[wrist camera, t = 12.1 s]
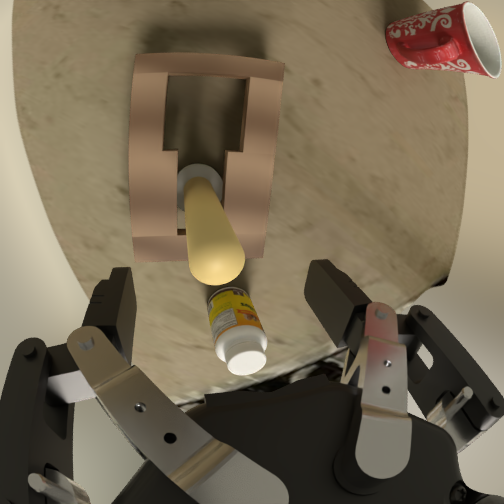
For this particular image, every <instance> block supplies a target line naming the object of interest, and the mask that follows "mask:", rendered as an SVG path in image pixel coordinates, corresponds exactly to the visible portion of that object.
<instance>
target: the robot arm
mask: <svg viewBox="0 0 504 504" xmlns="http://www.w3.org/2000/svg"><path fill="white" fill-rule="evenodd" d="M304 295H305V299H306V301H307V303H308V304H309V306H310V307H311V309H312V310H313V312H314V313H315V315H316V316H317V318H318V319H319V321H320V322H321V324H322V325H323V327H324V328H325V330H326V331H327V333H328V335H329V336H330V338H331V339H332V341H333V342H334V344H335V345H336V347H337V348H340V347H344V346H348V347H349V349H348V351H347V354H346V359H345V364H344V369H343V374H342V378H341V383H338V382H329V381H328V379H327V377H326V375H325V374H323V375H318V376H314V377H310V378H306V379H301V380H298V381H295V382H293V383H291V384H289V385H287V386H285V387H283V388H280V389H278V390H276V391H274V392H269V393H266V392H247V391H231V392H223V393H213V394H204V396H205V403H204V404H201V405H198V406H196V407H194V408H192V409H190V410H188V411H187V412H185V413H184V412H183V411H182V410H181V409H180V408H179V407H177V406H176V405H175V404H174V403H173V402H172V401H171V400H170V399H169V398H168V397H167V396H166V395H165V394H164V393H163V392H162V391H161V390H160V389H159V388H158V387H157V386H156V385H155V384H154V383H153V382H152V381H151V380H150V379H149V378H148V377H147V376H146V375H145V374H144V373H143V372H142V371H141V370H140V369H139V368H138V367H137V366H136V365H133V366H131V359H132V347H133V337H134V328H135V319H136V310H137V305H136V296H135V290H134V284H133V278H132V271H131V268H130V267H116V268H113V269H112V272H111V275H110V278H109V280H101V281H100V282H99V283H98V284H97V285H96V286H95V288H94V291H93V294H92V297H91V299H90V304H89V305H88V308H87V311H86V314H85V317H84V320H83V323H82V327H80V328H78V329H76V330H74V331H73V332H72V333H71V334H70V335H69V337H68V339H67V343H64V344H61V345H57V346H52V347H48V348H47V347H46V345H45V343H44V341H42V340H41V339H39V338H28V339H26V340H24V341H22V342H21V343H20V344H19V345H18V346H17V348H16V349H15V352H14V355H13V358H12V361H11V364H10V367H9V370H8V373H7V377H6V380H5V384H4V388H3V391H2V395H1V400H0V504H91V503H90V499H89V496H88V494H87V492H86V491H85V490H84V489H83V487H82V486H80V485H79V484H77V483H76V482H74V480H73V421H74V406H75V402H78V401H82V400H86V399H90V398H95V399H96V400H97V402H98V403H99V404H100V406H101V407H102V409H103V410H104V411H105V413H106V414H107V415H108V417H109V418H110V419H111V421H112V422H113V423H114V425H115V426H116V427H117V428H118V430H119V431H120V432H121V434H122V435H123V436H124V437H125V439H126V440H127V441H128V442H129V443H130V445H131V446H132V447H133V448H134V449H135V451H136V452H137V453H138V454H139V455H140V456H141V457H142V458H143V459H144V460H145V462H144V463H143V464H142V466H141V467H140V468H139V469H138V471H137V472H136V473H135V475H134V476H133V477H132V479H131V480H130V481H129V482H128V484H127V485H126V486H125V487H124V489H123V490H122V491H121V492H120V494H119V495H118V496H117V497H116V499H115V500H114V501H113V502H112V503H111V504H504V498H503V497H501V496H497V495H489V494H484V493H480V492H477V491H474V490H472V489H470V488H469V487H468V486H466V484H465V483H464V481H463V479H462V476H461V473H460V469H459V464H458V456H457V454H458V453H459V452H461V451H462V450H464V449H465V448H466V447H468V446H469V445H470V444H471V443H473V442H474V441H475V440H476V439H478V437H480V436H481V435H482V434H484V433H485V432H486V431H487V430H488V429H489V428H490V427H492V426H493V425H494V424H495V423H496V422H497V421H498V420H499V419H500V418H501V417H502V416H503V415H504V398H503V396H502V395H501V394H500V392H499V391H498V390H497V388H496V387H495V386H494V384H493V383H492V382H491V380H490V379H489V378H488V376H487V375H486V374H485V372H484V371H483V370H482V369H481V367H480V366H479V365H478V364H477V363H476V361H475V360H474V359H473V358H472V356H471V355H470V354H469V353H468V352H467V350H466V349H465V348H464V347H463V346H462V345H461V343H460V342H459V341H458V340H457V339H456V338H455V337H454V335H453V334H452V333H451V332H450V331H449V330H448V329H447V328H446V327H445V325H444V324H443V323H442V322H441V321H440V320H439V319H438V318H437V317H436V316H435V315H434V314H433V312H432V311H430V310H429V309H428V308H426V307H423V306H420V305H414V306H412V307H411V308H410V310H409V312H408V314H407V315H402V314H396V312H395V311H394V310H393V309H392V308H391V307H390V306H388V305H386V304H384V303H380V302H372V301H371V300H370V299H369V298H368V297H367V296H366V294H365V293H364V292H363V291H362V290H361V289H360V288H359V287H357V285H356V284H355V283H354V282H352V279H351V278H350V277H349V276H348V275H347V274H345V273H344V272H342V271H340V270H339V269H337V268H336V267H335V266H334V265H333V264H332V263H331V262H330V261H329V260H328V259H323V260H312V261H311V263H310V266H309V270H308V275H307V279H306V283H305V288H304ZM422 344H424V346H425V347H426V348H427V349H428V351H429V352H430V353H431V355H432V356H433V361H434V362H433V365H432V367H431V368H430V370H429V369H428V367H427V366H426V365H425V364H424V362H423V361H422V359H421V358H420V357H419V355H418V354H417V352H418V350H419V349H420V347H421V346H422ZM407 389H408V391H409V392H410V394H411V395H412V397H413V399H414V400H415V402H416V403H417V405H418V406H419V408H420V410H421V411H422V413H423V415H424V416H425V418H426V420H427V421H426V420H424V419H421V418H419V417H417V416H415V415H412V414H410V413H408V412H407Z"/></svg>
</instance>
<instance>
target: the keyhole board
mask: <svg viewBox="0 0 504 504" xmlns="http://www.w3.org/2000/svg"><path fill="white" fill-rule="evenodd" d="M284 67H285V63H281V62H276V61H270V60H264V59H257V58H250V57H242V56H233V55H223V54H208V53H147V54H136V57H135V64H134V72H133V81H132V92H131V104H130V121H129V196H130V214H131V227H132V238H133V248H134V257H135V262H161V261H189V259H188V248H187V236H186V229H177V168H178V149H164V127H165V111H166V98H167V87H168V78H169V76H176V75H179V76H212V77H226V78H238V79H246V85H245V96H244V106H243V116H242V127H241V138H240V149H239V151H236V150H225V157H224V171H223V186H222V202H221V205H222V208H223V210H224V212H225V214H226V216H227V218H228V220H229V222H230V224H231V226H232V228H233V230H234V232H235V234H236V236H237V238H238V240H239V242H240V244H241V246H242V248H243V251H244V254H245V259H246V258H263V253H264V245H265V237H266V228H267V220H268V212H269V203H270V195H271V186H272V178H273V169H274V160H275V151H276V143H277V133H278V124H279V115H280V106H281V96H282V87H283V77H284Z"/></svg>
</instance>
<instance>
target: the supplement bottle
mask: <svg viewBox="0 0 504 504" xmlns="http://www.w3.org/2000/svg"><path fill="white" fill-rule="evenodd" d="M207 309H208V315H209V321H210V326H211V331H212V336H213V341H214V346H215V350H216V353H217V355H218V357H219V358H220V359H221V360H222V361H224V362H226V363H227V367H228V369H229V371H230V372H232V373H233V374H236V375H248V374H252V373H254V372H257V371H258V370H260V369H261V368H262V367H263V366H264V365H265V363H266V355H265V353H264V351H265V349H266V347H267V338H266V335H265V332H264V330H263V328H262V325H261V323H260V320H259V318H258V316H257V313H256V311H255V309H254V306H253V304H252V301H251V299H250V297H249V295H248V294H247V293H246V292H245V291H244V290H242V289H240V288H236V287H226V288H222V289H220V290H218V291H216V292H215V293H214V294H213V295H212V296H211V297H210V299H209V301H208V305H207Z"/></svg>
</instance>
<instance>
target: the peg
mask: <svg viewBox="0 0 504 504" xmlns="http://www.w3.org/2000/svg"><path fill="white" fill-rule="evenodd" d="M222 186H223V182H222V179H221V177H220V176H219V174H218V173H217V172H216V171H215V170H214V169H213V168H212V167H210V166H208V165H206V164H200V163H196V164H191V165H188V166H186V167H184V168H183V169H182V170H180V171H179V173H178V174H177V206H178V207H179V208H180V209H181V210H182V211H184V212H185V223H186V236H187V248H188V259H189V267H190V270H191V273H192V274H193V276H194V277H195V278H196V279H197V280H199V281H200V282H202V283H205V284H208V285H221V284H225V283H228V282H230V281H232V280H233V279H234V278H236V277H237V276H238V275H239V273H240V272H241V271H242V269H243V266H244V263H245V254H244V251H243V248H242V246H241V244H240V242H239V240H238V238H237V236H236V234H235V232H234V230H233V228H232V226H231V224H230V222H229V220H228V218H227V216H226V214H225V212H224V210H223V208H222V205H221V203H220V201H221V199H222Z"/></svg>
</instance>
